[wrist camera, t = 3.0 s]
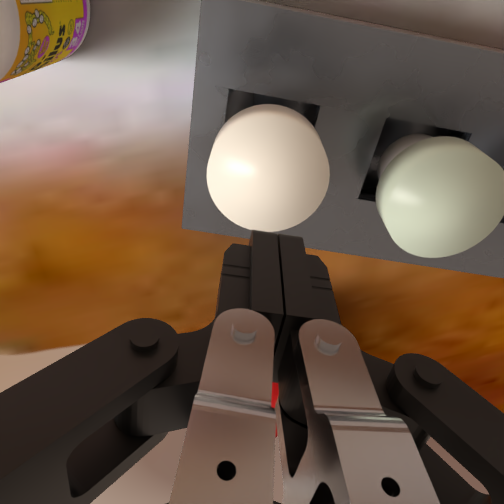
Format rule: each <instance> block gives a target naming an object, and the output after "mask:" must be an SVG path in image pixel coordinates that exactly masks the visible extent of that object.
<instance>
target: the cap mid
mask: <svg viewBox="0 0 504 504" xmlns="http://www.w3.org/2000/svg"><path fill="white" fill-rule="evenodd" d="M377 174H378V179H379V182H378V185H377V189H376V206H377V210H378V212H379V214H380V216H381V218H382V220H383V222H384V224H385V226H386V228H387V230H388V232H389V234H390V236H391V238H392V239H393V240H394V242H395V243H396V244H397V245H398V246H399V247H400V248H402V249H403V250H404V251H406V252H408V253H410V254H413V255H416V256H420V257H427V258H439V257H446V256H451V255H454V254H458V253H460V252H463V251H465V250H467V249H469V248H471V247H473V246H475V245H476V244H478V243H479V242H481V241H482V240H483V239H484V238H486V237H487V236H488V235H489V234H490V233H491V232H492V231H493V230H494V229H495V227H496V226H497V225H498V224H499V222H500V221H501V219H502V217H503V216H504V170H503V169H502V168H501V166H500V165H499V164H498V163H497V162H495V161H494V160H493V159H491V158H490V157H489V156H487V155H486V154H485V153H483V152H482V151H481V150H479V149H478V148H477V147H475V146H474V145H473V144H471V143H469V142H468V141H465V140H463V139H460V138H456V137H450V136H439V137H432V136H430V135H426V134H420V133H419V134H410V135H406V136H404V137H401V138H399V139H397V140H396V141H395V142H393V143H392V144H391V145H390V146H389V147H388V148H387V149H386V150H385V151H384V153H383V154H382V156H381V158H380V160H379V163H378V169H377Z"/></svg>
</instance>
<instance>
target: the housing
mask: <svg viewBox="0 0 504 504" xmlns="http://www.w3.org/2000/svg"><path fill="white" fill-rule="evenodd" d="M261 104H275V105H281V106H285V107H288V108H290V109H293V110H295V111H296V112H298V113H300V114H301V115H302V116H304V117H305V118H306V119H307V120H308V121H309V122H310V123H311V124H312V125H313V127H314V128H315V130H316V131H317V133H318V135H319V137H320V140H321V142H322V145H323V147H324V150H325V153H326V155H327V158H328V163H329V170H330V177H329V185H328V189H327V192H326V194H325V197H324V199H323V201H322V202H321V204H320V205H319V207H318V208H317V209H316V210H315V212H314V213H313V214H312V215H311V216H309V217H308V218H307V219H306V220H304V221H303V222H301V223H300V224H298V225H296V226H294V227H291V228H288V229H285V230H281V231H275V232H272V233H277V234H278V233H279V234H286V235H293V236H299V237H303V241H304V246H305V247H306V248H312V249H319V250H325V251H332V252H338V253H345V254H351V255H358V256H364V257H371V258H377V259H383V260H390V261H396V262H403V263H409V264H416V265H422V266H429V267H435V268H442V269H448V270H455V271H461V272H468V273H474V274H481V275H487V276H493V277H500V278H504V216H503V217H502V219H501V221H500V222H499V224H498V225H497V226H496V227H495V229H494V230H493V231H492V232H491V233H490V234H489V235H488V236H487V237H486V238H484V239H483V240H482V241H481V242H479V243H478V244H476V245H475V246H473V247H471V248H469V249H467V250H465V251H463V252H460V253H458V254H454V255H451V256H446V257H439V258H427V257H420V256H416V255H413V254H410V253H408V252H406V251H404V250H403V249H402V248H400V247H399V246H398V245H397V244H396V243H395V242H394V240H393V239H392V238H391V236H390V234H389V232H388V230H387V228H386V226H385V224H384V222H383V220H382V218H381V216H380V214H379V212H378V210H377V206H376V189H377V185H378V182H379V179H378V174H377V169H378V163H379V160H380V158H381V156H382V154H383V153H384V151H385V150H386V149H387V148H388V147H389V146H390V145H391V144H392V143H393V142H395V141H396V140H397V139H399V138H401V137H404V136H406V135H410V134H419V133H420V134H426V135H430V136H432V137H439V136H450V137H456V138H460V139H463V140H465V141H468V142H469V143H471V144H473V145H474V146H475V147H477V148H478V149H479V150H481V151H482V152H483V153H485V154H486V155H487V156H489V157H490V158H491V159H493V160H494V161H495V162H497V163H498V164H499V165H500V166H501V168H502V169H503V170H504V50H503V49H498V48H493V47H488V46H483V45H478V44H473V43H468V42H463V41H459V40H454V39H449V38H444V37H439V36H434V35H429V34H424V33H419V32H414V31H409V30H404V29H399V28H394V27H389V26H384V25H380V24H375V23H370V22H365V21H360V20H355V19H350V18H345V17H340V16H335V15H330V14H325V13H320V12H315V11H310V10H306V9H301V8H296V7H291V6H286V5H281V4H276V3H271V2H266V1H261V0H201V9H200V20H199V32H198V44H197V55H196V67H195V79H194V91H193V102H192V114H191V126H190V137H189V149H188V161H187V172H186V184H185V196H184V208H183V219H182V228H183V229H189V230H196V231H202V232H209V233H215V234H222V235H228V236H235V237H241V238H248V239H250V237H251V232H252V230H249V229H246V228H243V227H241V226H239V225H237V224H235V223H234V222H232V221H231V220H229V219H228V218H227V217H226V216H224V215H223V214H222V212H221V211H220V210H219V209H218V208H217V206H216V205H215V203H214V201H213V200H212V198H211V195H210V193H209V189H208V185H207V166H208V161H209V157H210V154H211V151H212V147H213V144H214V141H215V138H216V136H217V134H218V132H219V131H220V129H221V128H222V126H223V125H224V124H225V123H226V122H227V121H228V120H229V119H230V118H231V117H232V116H233V115H235V114H237V113H238V112H240V111H242V110H244V109H246V108H249V107H252V106H255V105H261Z"/></svg>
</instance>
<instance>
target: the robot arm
mask: <svg viewBox="0 0 504 504" xmlns="http://www.w3.org/2000/svg"><path fill="white" fill-rule="evenodd" d="M272 382H274V383H278V387H279V395H278V398H277V401H276V404H275V408H273V407H271V397H272ZM276 427H277V435H278V443H279V451H280V459H281V467H282V475H283V484H284V495H283V503H282V504H504V413H502V412H501V411H500V410H498V409H497V408H496V407H495V406H493V405H492V404H491V403H490V402H488V401H487V400H486V399H484V398H483V397H482V396H481V395H479V394H478V393H477V392H476V391H474V390H473V389H472V388H470V387H469V386H468V385H467V384H465V383H464V382H463V381H462V380H460V379H459V378H458V377H456V376H455V375H454V374H453V373H451V372H450V371H449V370H447V369H446V368H445V367H444V366H442V365H441V364H440V363H438V362H437V361H435V360H433V359H431V358H429V357H426V356H424V355H420V354H413V353H410V354H404V355H402V356H400V357H399V358H398V359H397V360H396V362H395V363H394V364H392V363H390V362H387V361H384V360H382V359H379V358H377V357H374V356H372V355H369V354H367V353H365V352H363V351H362V350H360V348H359V346H358V343H357V341H356V339H355V337H354V336H353V335H352V334H351V332H350V331H348V330H347V329H346V328H345V327H343V326H342V325H341V322H340V318H339V314H338V310H337V306H336V302H335V298H334V294H333V291H332V286H331V282H330V278H329V274H328V270H327V267H326V266H325V264H324V263H323V262H322V261H321V260H320V258H319V257H318V256H315V255H308V254H306V252H305V246H304V241H303V237H299V236H293V235H286V234H279V233H278V234H277V233H272V232H266V231H259V230H252V232H251V237H250V242H249V246H247V245H240V244H232V245H231V246H230V247H229V248H228V249H227V250H226V251H225V253H224V259H223V265H222V272H221V278H220V284H219V290H218V298H217V306H216V314H215V319H214V320H213V321H212V322H211V323H210V324H209V325H208V326H206V327H205V328H203V329H200V330H198V331H194V332H189V333H181V334H177V333H176V331H175V330H174V329H173V328H172V327H171V326H170V325H168V324H167V323H165V322H163V321H160V320H157V319H152V318H140V319H135V320H131V321H128V322H126V323H124V324H122V325H120V326H119V327H117V328H115V329H113V330H111V331H110V332H108V333H106V334H104V335H103V336H101V337H99V338H97V339H95V340H94V341H92V342H90V343H88V344H87V345H85V346H83V347H81V348H79V349H78V350H76V351H74V352H72V353H71V354H69V355H67V356H65V357H63V358H62V359H60V360H58V361H56V362H54V363H53V364H51V365H49V366H47V367H46V368H44V369H42V370H40V371H38V372H37V373H35V374H33V375H31V376H30V377H28V378H26V379H24V380H23V381H21V382H19V383H17V384H15V385H14V386H12V387H10V388H8V389H6V390H5V391H3V392H1V393H0V504H90V503H91V502H92V501H93V500H94V499H96V497H98V496H99V495H100V494H101V493H102V492H104V491H105V490H106V489H107V488H108V487H109V486H110V485H111V484H113V483H114V482H115V481H116V480H117V479H118V478H119V477H121V476H122V475H123V474H124V473H125V472H126V471H128V470H129V469H130V468H131V467H132V466H133V465H134V464H135V463H137V462H138V461H139V460H140V459H141V458H142V457H143V456H145V455H146V454H147V453H148V452H149V451H150V450H151V449H152V448H154V447H155V446H156V445H157V444H158V443H159V442H161V441H162V440H163V439H164V438H165V436H166V435H167V433H168V432H169V431H174V430H178V429H182V428H187V431H186V435H185V439H184V443H183V447H182V451H181V456H180V459H179V464H178V468H177V472H176V476H175V480H174V484H173V488H172V493H171V497H170V501H169V503H167V504H281V503H278V502H276V501H273V488H274V462H275V461H274V458H275V435H276ZM430 437H432V438H433V439H434V440H436V441H437V443H439V444H440V445H441V446H442V447H443V448H444V449H445V450H446V451H447V452H448V453H450V455H452V456H453V457H454V458H455V459H456V460H457V461H458V462H459V463H460V464H461V465H462V466H463V467H465V468H466V469H467V470H468V471H469V472H470V473H471V474H472V475H473V476H474V477H475V478H476V479H478V480H479V481H480V482H481V483H482V484H483V485H484V487H485V488H486V489H487V491H488V492H489V495H486V494H483V493H480V492H478V491H477V490H475V489H474V488H473V487H472V486H470V485H469V484H468V483H467V482H466V481H465V480H464V479H463V478H462V477H461V476H460V475H459V474H458V473H457V472H456V471H455V470H453V469H452V468H451V467H450V466H449V465H448V464H447V463H446V462H445V461H444V460H443V459H442V458H441V457H440V456H439V455H438V454H436V453H435V452H434V451H433V450H432V449H431V448H430V447H429V446H428V445H427V444H426V442H427V441H428V440H429V438H430Z"/></svg>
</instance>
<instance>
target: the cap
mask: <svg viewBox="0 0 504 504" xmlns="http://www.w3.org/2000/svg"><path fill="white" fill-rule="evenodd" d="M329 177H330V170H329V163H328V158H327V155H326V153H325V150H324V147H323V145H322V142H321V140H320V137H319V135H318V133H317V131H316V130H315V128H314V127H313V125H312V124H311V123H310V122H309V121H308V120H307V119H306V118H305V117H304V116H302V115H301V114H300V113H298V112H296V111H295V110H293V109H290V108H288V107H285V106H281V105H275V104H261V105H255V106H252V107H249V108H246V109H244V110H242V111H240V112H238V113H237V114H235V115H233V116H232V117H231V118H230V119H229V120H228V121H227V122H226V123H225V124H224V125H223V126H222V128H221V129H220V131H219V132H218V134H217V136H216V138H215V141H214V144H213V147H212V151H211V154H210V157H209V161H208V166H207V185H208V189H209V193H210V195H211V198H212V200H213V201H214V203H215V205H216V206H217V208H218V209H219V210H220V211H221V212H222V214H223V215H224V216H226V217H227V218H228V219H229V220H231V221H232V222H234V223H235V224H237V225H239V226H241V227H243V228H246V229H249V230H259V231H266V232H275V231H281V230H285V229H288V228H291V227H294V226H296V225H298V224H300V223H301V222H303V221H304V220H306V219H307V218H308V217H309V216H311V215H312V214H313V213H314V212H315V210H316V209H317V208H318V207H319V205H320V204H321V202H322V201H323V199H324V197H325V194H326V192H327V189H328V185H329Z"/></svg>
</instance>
